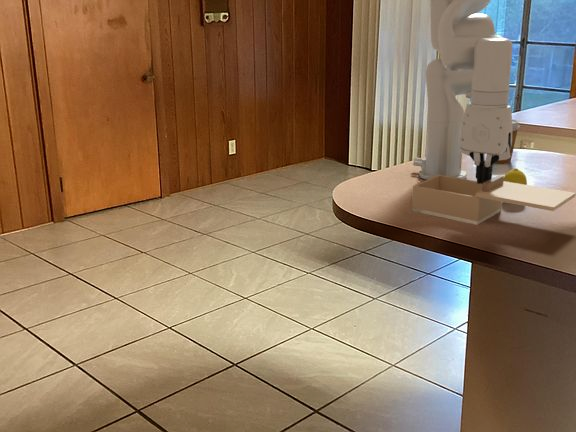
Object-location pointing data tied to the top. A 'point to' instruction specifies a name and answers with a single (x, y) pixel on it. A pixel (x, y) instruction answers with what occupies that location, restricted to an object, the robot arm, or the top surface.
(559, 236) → the top surface
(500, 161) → the disposable coffee cup
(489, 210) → the mailer box
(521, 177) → the lemon
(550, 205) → the mailer lid
